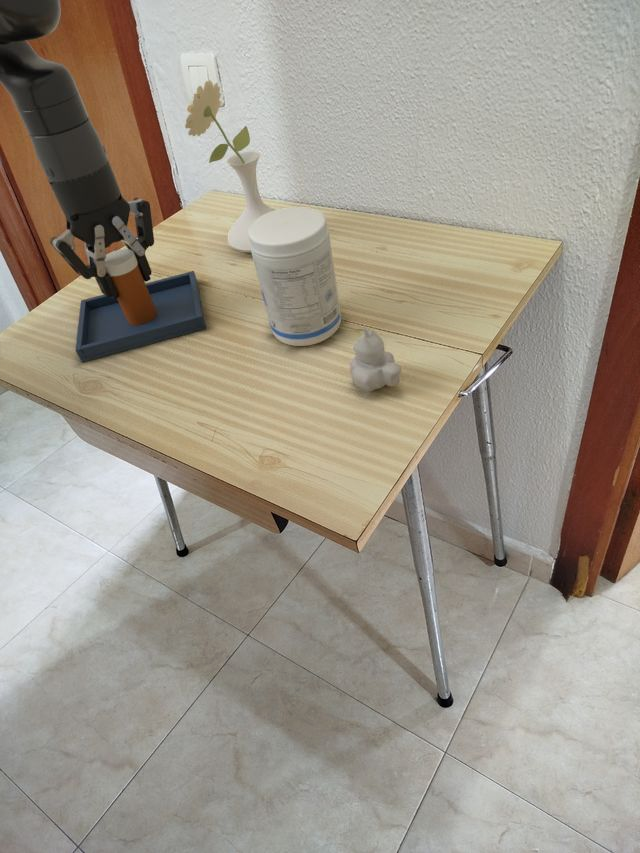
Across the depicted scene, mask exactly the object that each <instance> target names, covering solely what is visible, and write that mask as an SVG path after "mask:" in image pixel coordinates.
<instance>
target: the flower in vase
mask: <svg viewBox="0 0 640 853" xmlns="http://www.w3.org/2000/svg"><path fill="white" fill-rule="evenodd" d="M221 95H222V93H221V88H220V86H219V83H218V82H215V83H213V82H212V80H211V79H209V80H206V81H205V82H204V84H203V86H201V85H198V86H197V88H196V93H194V94H193V100H192V103H190V104H188V105H187V108H186V110H187V112H188V113H189V114H188V115H187V117H186V118H185V125H184V128H185V129H188V136H192V137H195V136H197V137H200V136H201V135H204V134H206V132H207V130H209V129H210V128H211V125H212V123H215V124H216V126H217V127H218V130H219V131H220V133H221V134H222V136H223V138H224V140H225V142H226V143H220V144H218V145H217V146H216V147H215V148H214V149H213V150H212V152H211V154H210V156H209V164H210V163H213V162H219V161H220V160H222V159H224V157H225V155H226V153H227V151H228V149H229V147H230V149H231V150H232V151H233V152H234V153H235V154H233V155H231V156H230V157H229V158H228V159H227V160H226V162H227V164H228V165H229V166H230V167H231V168H232V169H233V170H234V171H235V173H236V174H237V177H238V178H239V180H240V184H241V186H242V189H243V192H244V197H245V208H244V210H243V211H242V213H241V214H240V215H239V217H237V219H236V220H235V221H234V223H233V224H232V225H231V227H230V228H229V231H228V234H227V244H228V245H229V246H230V247H231V248H232V249H234V250H235V251H238V252H241V253H245V254H247V253H249V254H252V253H251V248H250V244H249V241H250V240H249V236H248V230H249V227H250V226H251V224H252V223H253V222H254V221H255V220H256V219H258V218H259V217H261V216H262V215H264V214H266V213H269V212H271V211H274V210H277V209H275V208H273V207H271V206H269V205H267V204H265V203H264V201H263V200H262V198H261V195H260V190H259V186H258V181H257V180H258V179H257V167H258V166H257V165H258V162H259V159H260V156H261V155H260V154H261V153H259V152H258V151H255V150H253V151H252V150H251V151H248V150H247V151H243V150H244V149H245V148H246V147H248V146H249V145H250V142H251V136H250V133H249V129H248V127H247V125H245V126H244V127H243V128H242V129H241V130H240V131H239V132H238V133H237V134H236V135H235V136H234V137H233V139H232V143H231V142H230V140H229V139H228V137H227V134H226V133H225V132H224V130H223V128H222V126H221V125H220V123H219V122H218V119H217V118H216V117H217V114H218V113H219V108H220V106H221V103H222V101H221V100H220V99H221Z"/></svg>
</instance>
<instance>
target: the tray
mask: <svg viewBox="0 0 640 853" xmlns="http://www.w3.org/2000/svg"><path fill="white" fill-rule="evenodd" d="M145 284H146V286H147V289H148V291H149V294H150V296H151V299H152V301H153V304H154V306H155V308H156V311H157V315H156V316H155V318H154V319H152V320H151V321H149V322H147V323H145V324H141V325H131V324H129V323H128V321H127V319H126V317H125V315H124V313H123V310H122V308H121V306H120V304H119V302H118V299H117V298H116V299H115V300H114V299H112V298H111V297H110V298H109V297H107V296H106V295H104V294H100V295H96V296H93V297H88V298H84V299H81V300H80V306H79V315H78V324H77V333H76V342H75V352H76V354H77V356H78V358H79V360H80V362H81V363H85V362H88V361H92V360H96V359H99V358H104V357H106V356H110V355H113V354H117V353H122V352H126V351H129V350H133V349H136V348H140V347H144V346H148V345H151V344H155V343H159V342H163V341H166V340H170V339H173V338H177V337H181V336H185V335H189V334H192V333H195V332H199V331H203V330H206V329H207V324H206V319H205V314H204V308H203V304H202V297H201V292H200V286H199V282H198V279H197V275H196V273H195V270H191V271H188V272H184V273H180V274H177V275H173V276H169V277H165V278H164V277H163V278H162V279H157V280H154V281H148V282H145Z"/></svg>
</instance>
